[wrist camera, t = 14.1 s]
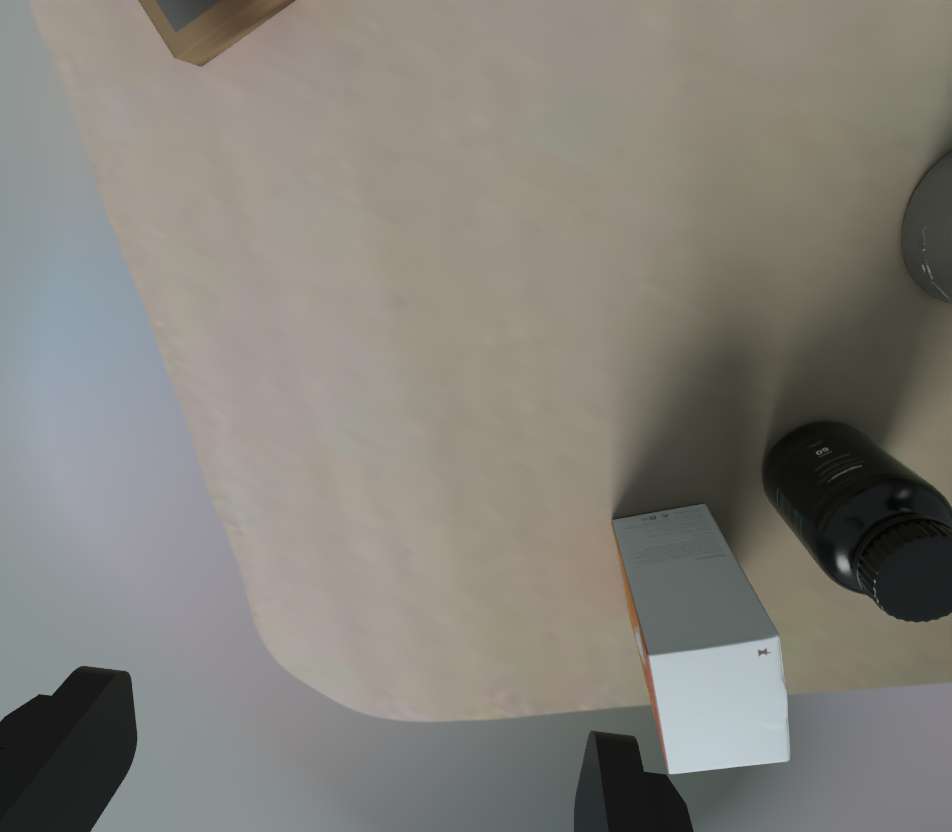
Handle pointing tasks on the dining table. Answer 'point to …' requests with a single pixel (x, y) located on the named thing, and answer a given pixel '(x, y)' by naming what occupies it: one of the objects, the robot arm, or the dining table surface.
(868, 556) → the supplement bottle
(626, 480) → the dining table surface
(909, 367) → the dining table surface
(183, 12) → the wooden picture frame
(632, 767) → the robot arm
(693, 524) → the small box
